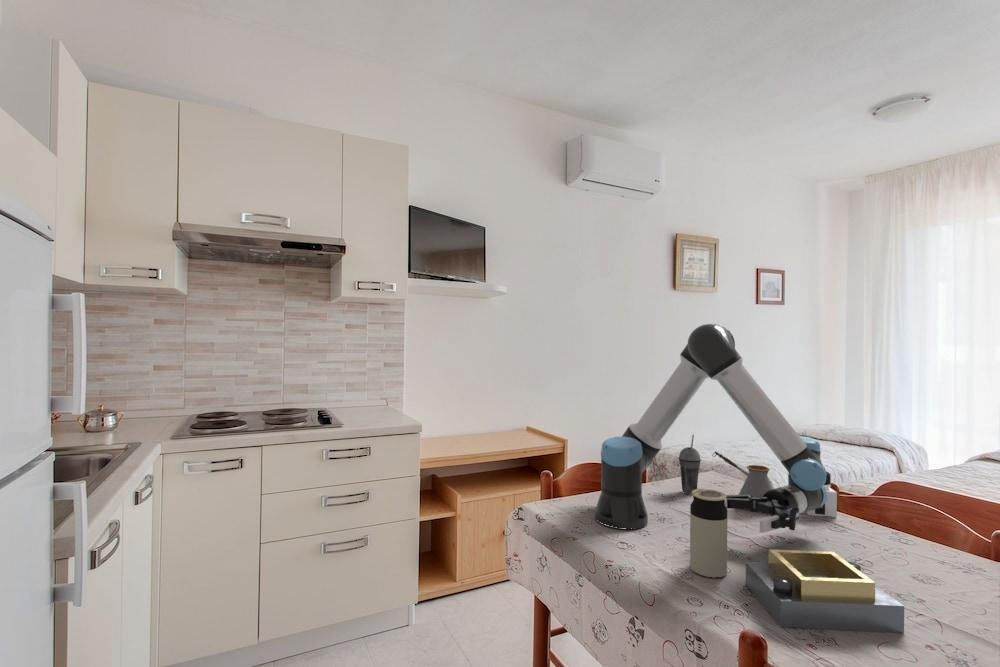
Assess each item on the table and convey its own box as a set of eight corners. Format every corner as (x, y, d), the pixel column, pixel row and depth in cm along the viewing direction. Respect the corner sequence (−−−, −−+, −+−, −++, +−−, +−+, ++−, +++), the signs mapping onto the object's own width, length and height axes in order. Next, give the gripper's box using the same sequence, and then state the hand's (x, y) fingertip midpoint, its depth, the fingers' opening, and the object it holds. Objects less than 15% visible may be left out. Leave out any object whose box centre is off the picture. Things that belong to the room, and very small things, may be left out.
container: (837, 517, 151) (837, 474, 151) (808, 515, 153) (809, 473, 153) (826, 509, 159) (826, 467, 159) (799, 507, 160) (799, 466, 160)
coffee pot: (785, 510, 157) (786, 462, 157) (766, 517, 151) (766, 467, 151) (723, 491, 175) (723, 448, 175) (702, 497, 169) (703, 453, 169)
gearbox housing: (780, 627, 95) (781, 582, 95) (745, 584, 111) (745, 546, 111) (904, 633, 93) (904, 587, 93) (850, 588, 109) (850, 549, 109)
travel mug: (734, 573, 116) (734, 495, 116) (713, 582, 112) (714, 501, 111) (703, 559, 123) (703, 486, 122) (682, 568, 118) (683, 491, 118)
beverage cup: (674, 489, 177) (675, 432, 177) (694, 489, 178) (695, 432, 178) (683, 496, 170) (684, 437, 170) (704, 495, 171) (705, 436, 171)
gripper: (834, 532, 122) (785, 552, 111) (740, 502, 144) (691, 516, 133) (835, 502, 122) (785, 518, 111) (740, 476, 144) (691, 488, 133)
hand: (734, 517), depth 122 cm, fingers open, 13 cm apart
